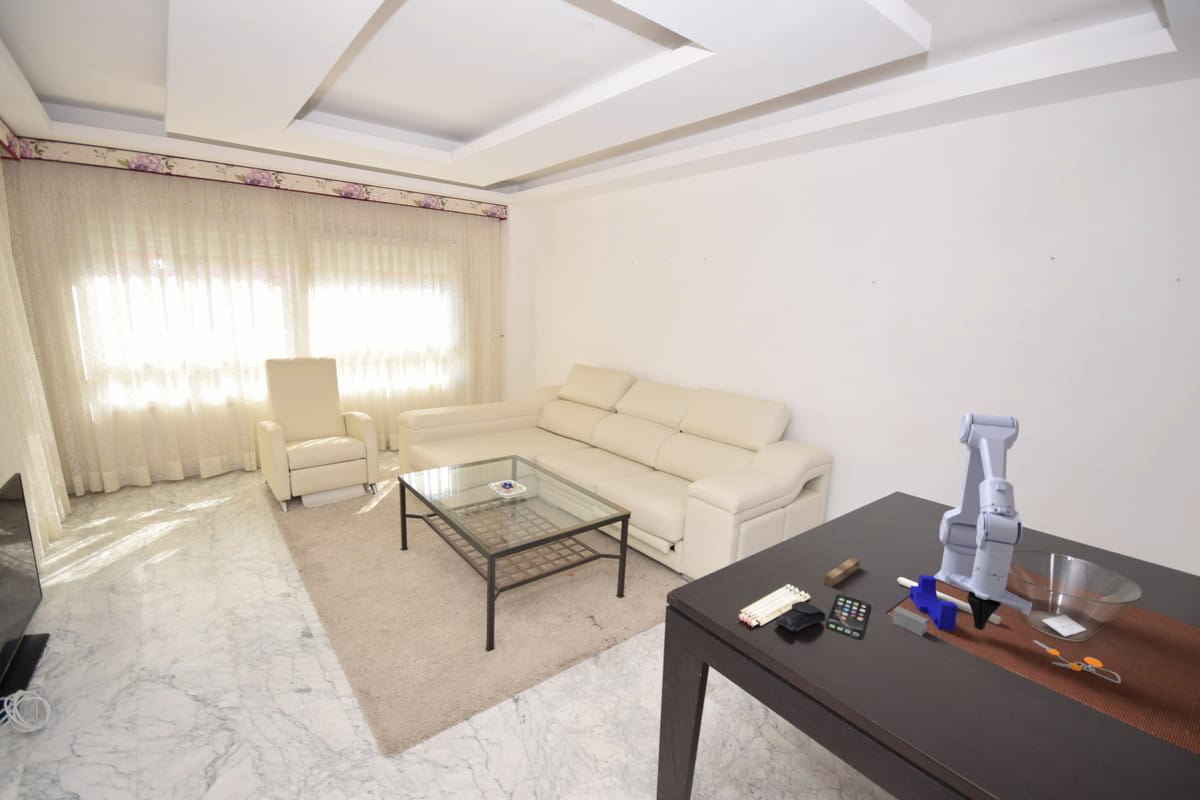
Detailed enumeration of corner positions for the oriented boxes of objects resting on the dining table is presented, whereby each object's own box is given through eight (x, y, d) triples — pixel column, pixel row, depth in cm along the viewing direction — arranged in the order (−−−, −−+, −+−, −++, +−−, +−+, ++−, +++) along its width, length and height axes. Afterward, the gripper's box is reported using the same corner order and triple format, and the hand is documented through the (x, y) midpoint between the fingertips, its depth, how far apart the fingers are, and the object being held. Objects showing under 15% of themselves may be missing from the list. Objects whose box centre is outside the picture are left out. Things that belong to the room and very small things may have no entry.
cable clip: (909, 596, 124) (912, 574, 123) (929, 599, 123) (933, 576, 122) (930, 628, 113) (934, 604, 111) (953, 631, 112) (957, 606, 111)
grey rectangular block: (896, 618, 116) (898, 606, 115) (926, 631, 111) (928, 619, 111) (891, 622, 114) (893, 610, 114) (921, 636, 110) (923, 623, 109)
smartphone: (824, 627, 112) (837, 593, 125) (823, 629, 112) (836, 595, 125) (862, 640, 108) (871, 603, 121) (861, 642, 109) (871, 606, 121)
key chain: (1116, 666, 102) (1117, 663, 102) (1122, 689, 96) (1123, 685, 96) (1032, 640, 110) (1033, 636, 110) (1033, 659, 104) (1034, 655, 104)
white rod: (898, 581, 130) (899, 574, 130) (1000, 622, 115) (1001, 615, 114) (895, 583, 129) (896, 577, 129) (997, 626, 114) (998, 618, 113)
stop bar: (851, 565, 138) (852, 557, 137) (858, 568, 136) (859, 560, 136) (824, 583, 129) (825, 575, 128) (831, 587, 127) (832, 578, 127)
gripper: (943, 560, 110) (934, 617, 113) (1030, 592, 99) (1016, 654, 102) (955, 550, 114) (946, 605, 117) (1039, 579, 103) (1026, 639, 106)
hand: (979, 627), depth 110 cm, fingers closed
